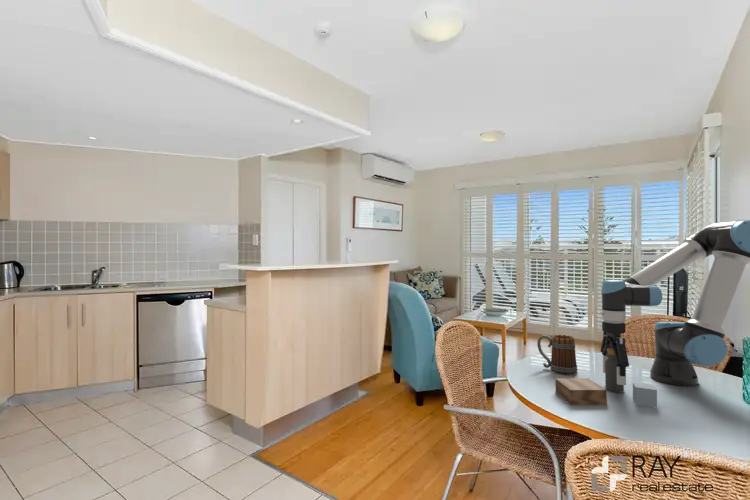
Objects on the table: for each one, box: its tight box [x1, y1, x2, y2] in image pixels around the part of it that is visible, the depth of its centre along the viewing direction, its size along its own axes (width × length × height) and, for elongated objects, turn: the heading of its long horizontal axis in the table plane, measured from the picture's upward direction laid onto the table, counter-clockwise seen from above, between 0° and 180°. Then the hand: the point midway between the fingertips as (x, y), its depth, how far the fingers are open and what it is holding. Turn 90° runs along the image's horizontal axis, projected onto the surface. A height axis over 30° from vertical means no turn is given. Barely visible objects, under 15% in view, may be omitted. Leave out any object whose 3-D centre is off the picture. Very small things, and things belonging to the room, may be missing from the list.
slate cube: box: [632, 381, 658, 409], centre depth 133 cm, size 6×6×6 cm
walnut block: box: [554, 377, 608, 406], centre depth 138 cm, size 12×12×5 cm
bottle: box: [604, 348, 625, 393], centre depth 146 cm, size 6×6×15 cm
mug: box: [536, 334, 578, 376], centre depth 169 cm, size 16×11×15 cm
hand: (613, 378), depth 146 cm, fingers open, 13 cm apart
